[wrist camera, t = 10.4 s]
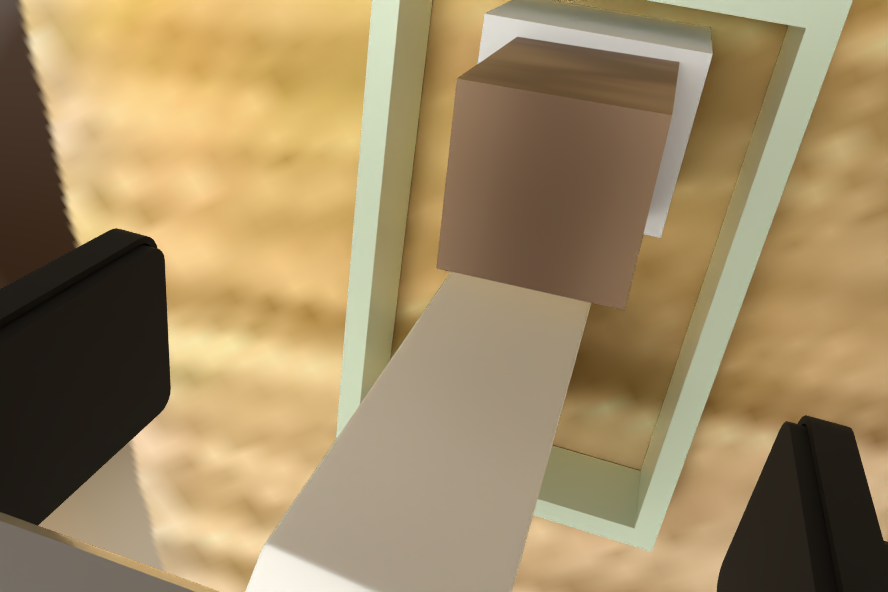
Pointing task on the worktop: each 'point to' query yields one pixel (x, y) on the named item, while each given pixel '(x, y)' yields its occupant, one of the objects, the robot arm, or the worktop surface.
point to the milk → (438, 453)
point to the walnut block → (555, 167)
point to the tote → (721, 296)
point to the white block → (623, 34)
